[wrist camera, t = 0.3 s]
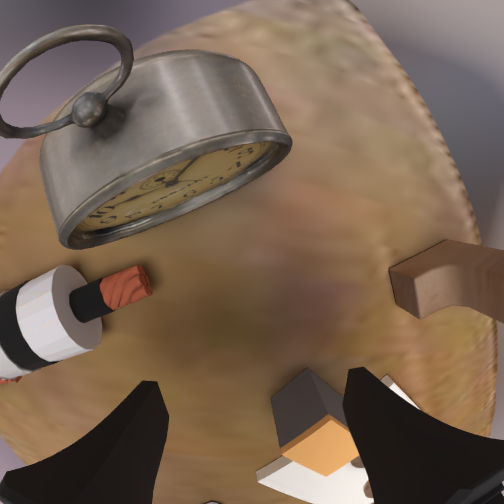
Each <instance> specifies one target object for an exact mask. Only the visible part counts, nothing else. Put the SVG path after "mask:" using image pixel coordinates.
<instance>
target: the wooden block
mask: <svg viewBox="0 0 504 504" xmlns="http://www.w3.org/2000/svg"><path fill="white" fill-rule="evenodd" d="M389 272H390V276H391V281H392V285H393V290H394V294H395V299H396V304H397V305H398V306H399V307H401V308H402V309H404V310H406V311H407V312H409V313H410V314H412V315H414V316H415V317H417V318H418V319H423V318H425V317H427V316H429V315H430V314H432V313H434V312H435V311H437V310H440V309H443V308H446V307H450V306H465V307H470V308H472V309H474V310H476V311H479V312H481V313H483V314H485V315H487V316H489V317H491V318H493V319H495V320H498V321H500V322H502V323H504V250H499V249H494V248H488V247H484V246H479V245H474V244H468V243H463V242H457V241H452V240H445V241H443V242H441V243H439V244H438V245H436V246H434V247H432V248H430V249H428V250H426V251H424V252H422V253H420V254H418V255H416V256H414V257H412V258H410V259H408V260H406V261H404V262H402V263H400V264H398V265H396V266H394V267H392V268H390V269H389Z"/></svg>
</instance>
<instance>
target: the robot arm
mask: <svg viewBox="0 0 504 504" xmlns="http://www.w3.org/2000/svg"><path fill="white" fill-rule="evenodd" d="M342 407H343V411H344V415H345V419H346V422H347V426H348V429H349V431H350V434H351V436H352V438H353V441H354V443H355V446H356V448H357V450H358V453H359V455H360V458H361V460H362V462H363V465H364V467H365V470H366V473H367V476H368V479H369V483H370V487H371V491H372V495H373V500H374V504H504V496H503V495H502V493H501V491H503V490H504V486H503V484H502V481H504V440H499V439H491V438H487V437H483V436H479V435H475V434H472V433H469V432H466V431H463V430H460V429H458V428H455V427H452V426H450V425H448V424H445V423H443V422H441V421H439V420H437V419H435V418H433V417H432V416H430V415H428V414H426V413H424V412H423V411H421V410H420V409H418V408H416V407H415V406H413V405H412V404H410V403H409V402H407V401H406V400H405V399H403V398H402V397H401V396H399V395H398V394H397V393H395V392H394V391H393V390H391V389H390V388H389V387H388V386H386V385H385V384H384V383H383V382H381V381H380V380H379V379H378V378H377V377H375V376H374V375H373V374H372V373H371V372H369V371H368V370H367V369H366V368H365V367H359V368H353V369H349V371H348V377H347V383H346V388H345V394H344V399H343V404H342ZM168 423H169V414H168V411H167V409H166V406H165V403H164V400H163V397H162V394H161V391H160V389H159V385H158V382H157V381H142V382H141V383H140V384H139V385H138V386H137V387H136V388H135V389H134V390H133V391H132V392H131V393H130V394H129V395H128V396H127V397H126V398H125V399H124V400H123V401H122V402H121V403H120V404H119V405H118V406H117V407H116V408H115V409H114V410H113V411H112V412H111V413H110V414H109V415H108V416H107V417H106V418H105V419H104V420H103V421H102V422H100V423H99V424H98V425H97V426H96V427H95V428H94V429H93V430H91V431H90V432H89V433H87V434H86V435H85V436H83V437H82V438H81V439H79V440H78V441H76V442H75V443H73V444H72V445H70V446H69V447H67V448H65V449H63V450H62V451H60V452H58V453H56V454H54V455H53V456H51V457H48V458H46V459H44V460H42V461H39V462H37V463H34V464H32V465H29V466H26V467H22V468H19V469H15V470H11V471H7V472H6V474H5V476H4V478H3V480H2V481H1V483H0V501H1V502H3V503H4V504H152V498H153V489H154V484H155V480H156V476H157V472H158V468H159V465H160V461H161V457H162V454H163V450H164V446H165V442H166V438H167V431H168ZM207 504H218V503H216V502H209V503H207Z"/></svg>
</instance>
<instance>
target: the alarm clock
mask: <svg viewBox="0 0 504 504" xmlns="http://www.w3.org/2000/svg"><path fill="white" fill-rule="evenodd" d="M80 40H90V41H102V42H107V43H110V44H112V45H114V46H115V47H116V49H117V50H118V51H119V52H120V54H121V58H122V60H121V66H119V67H117V68H115V69H113V70H111V71H109V72H107V73H105V74H104V75H102V76H101V77H99V78H97V79H96V80H94V81H93V82H91V83H90V84H89V85H87V86H86V87H85V88H83V89H82V90H81V91H80V92H79V93H77V94H76V95H75V96H74V97H73V98H72V99H71V100H70V101H69V102H68V103H67V104H66V105H65V106H64V108H63V109H62V110H61V111H60V112H59V113H58V115H57V116H56V118H55V119H54V120H53V122H50V123H47V124H43V125H39V126H35V127H24V128H19V127H15V126H11V125H9V124H7V123H5V122H4V121H3V119H2V117H1V115H0V136H2V137H4V138H21V139H27V138H33V137H36V136H39V135H42V134H45V133H46V135H45V138H44V140H43V143H42V146H41V150H40V158H39V165H40V171H41V176H42V181H43V185H44V189H45V193H46V197H47V200H48V204H49V208H50V211H51V214H52V218H53V221H54V224H55V228H56V231H57V234H58V237H59V241H60V243H61V244H62V245H63V246H64V247H66V248H69V249H74V250H82V249H86V248H92V247H95V246H100V245H103V244H107V243H110V242H113V241H116V240H120V239H122V238H126V237H128V236H131V235H134V234H137V233H140V232H143V231H145V230H147V229H149V228H152V227H154V226H157V225H159V224H162V223H164V222H167V221H170V220H172V219H174V218H176V217H179V216H181V215H183V214H185V213H188V212H190V211H192V210H195V209H197V208H199V207H201V206H203V205H205V204H207V203H210V202H212V201H214V200H216V199H218V198H220V197H222V196H224V195H226V194H228V193H230V192H232V191H234V190H236V189H238V188H240V187H241V186H243V185H245V184H247V183H248V182H250V181H252V180H254V179H256V178H258V177H259V176H261V175H263V174H264V173H266V172H267V171H269V170H271V169H272V168H274V167H275V166H276V165H277V164H279V163H280V162H281V161H282V160H283V159H284V158H285V157H286V156H287V155H288V153H289V152H290V150H291V147H292V143H293V142H292V138H291V137H290V135H289V134H288V133H287V131H286V129H285V127H284V125H283V123H282V121H281V119H280V117H279V115H278V113H277V111H276V109H275V107H274V105H273V103H272V101H271V99H270V97H269V96H268V94H267V92H266V90H265V88H264V86H263V84H262V83H261V81H260V79H259V77H258V76H257V74H256V73H255V72H254V71H253V69H251V68H250V67H249V66H248V65H247V64H246V63H244V62H242V61H240V60H239V59H237V58H235V57H232V56H230V55H227V54H223V53H219V52H214V51H207V50H176V51H167V52H162V53H157V54H152V55H149V56H145V57H142V58H139V59H136V60H134V57H133V49H132V44H131V42H130V40H129V39H128V38H127V37H126V36H125V35H124V34H123V33H121V32H120V31H119V30H117V29H115V28H111V27H108V26H105V25H78V26H71V27H66V28H61V29H59V30H57V31H54V32H52V33H50V34H47V35H45V36H43V37H41V38H39V39H37V40H35V41H34V42H33V43H31V44H30V45H28V46H27V47H26V48H24V49H23V50H22V51H20V52H19V53H18V54H17V55H16V56H15V57H13V58H12V59H11V60H10V61H9V62H8V63H7V64H6V66H5V67H4V68H3V70H2V71H1V72H0V99H1V97H2V94H3V92H4V90H5V89H6V87H7V86H8V84H9V83H10V81H11V79H12V78H13V77H14V76H15V75H16V74H17V73H18V72H19V71H20V70H21V69H22V68H23V67H24V66H25V65H26V63H28V62H29V61H30V60H32V59H34V58H35V57H37V56H39V55H41V54H42V53H44V52H45V51H47V50H49V49H52V48H54V47H57V46H60V45H63V44H66V43H69V42H74V41H80ZM133 60H134V61H133Z"/></svg>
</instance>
